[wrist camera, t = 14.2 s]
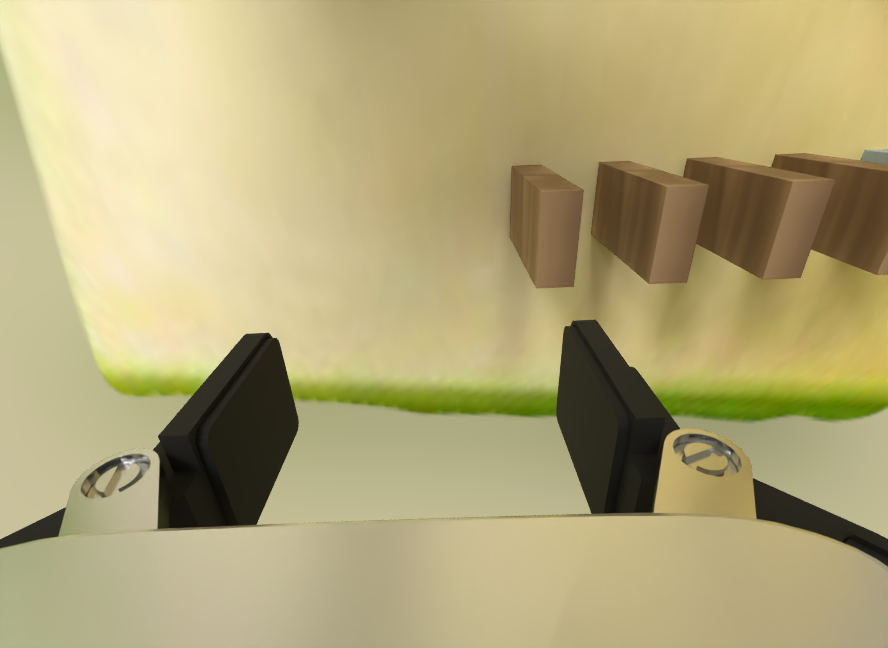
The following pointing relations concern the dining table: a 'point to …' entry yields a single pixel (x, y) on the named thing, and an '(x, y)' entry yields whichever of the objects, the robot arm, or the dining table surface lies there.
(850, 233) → the domino
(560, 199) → the domino
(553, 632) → the robot arm
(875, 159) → the domino
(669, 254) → the domino
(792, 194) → the domino
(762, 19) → the dining table surface
